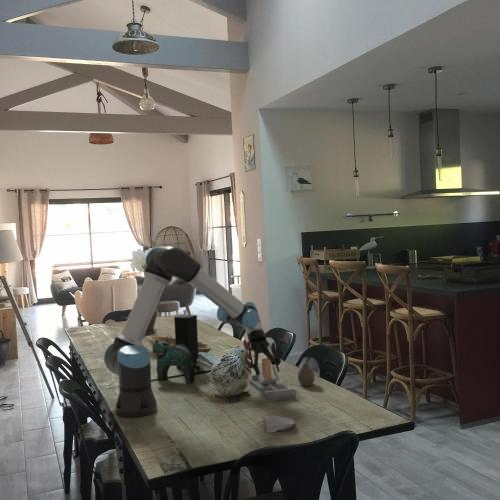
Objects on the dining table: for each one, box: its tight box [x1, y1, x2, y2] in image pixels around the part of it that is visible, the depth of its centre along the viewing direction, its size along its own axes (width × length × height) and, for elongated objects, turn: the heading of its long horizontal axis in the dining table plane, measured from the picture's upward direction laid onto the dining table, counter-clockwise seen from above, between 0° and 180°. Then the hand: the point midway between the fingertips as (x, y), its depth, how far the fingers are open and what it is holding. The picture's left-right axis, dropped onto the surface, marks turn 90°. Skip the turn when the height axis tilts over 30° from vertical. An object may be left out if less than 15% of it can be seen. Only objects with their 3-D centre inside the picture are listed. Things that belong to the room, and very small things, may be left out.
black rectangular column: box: [173, 309, 199, 370], centre depth 264 cm, size 8×8×28 cm
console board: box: [249, 373, 297, 402], centre depth 224 cm, size 26×10×4 cm, turn 19°
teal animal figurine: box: [152, 335, 196, 384], centre depth 242 cm, size 20×6×20 cm, turn 62°
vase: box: [297, 363, 316, 387], centre depth 229 cm, size 7×7×9 cm
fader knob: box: [258, 357, 276, 385], centre depth 228 cm, size 5×6×10 cm
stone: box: [263, 414, 296, 434], centre depth 184 cm, size 10×12×4 cm
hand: (270, 380), depth 225 cm, fingers open, 6 cm apart
